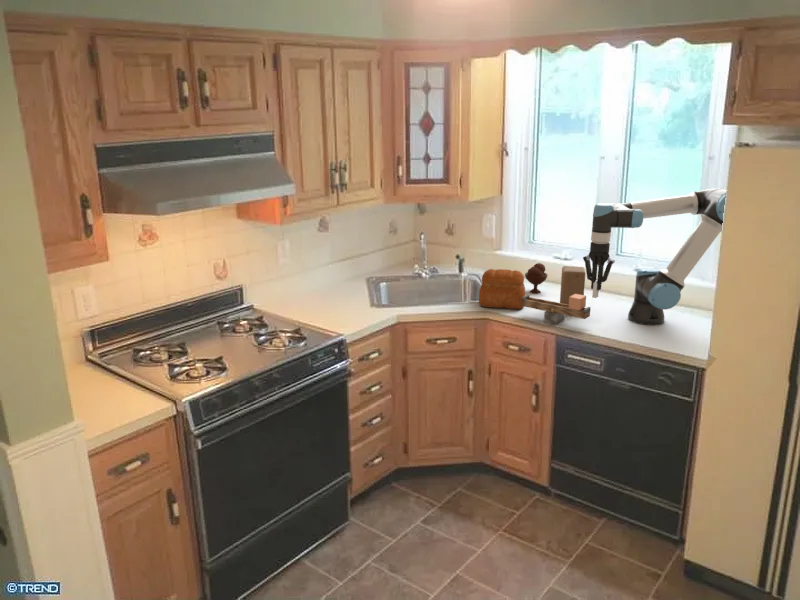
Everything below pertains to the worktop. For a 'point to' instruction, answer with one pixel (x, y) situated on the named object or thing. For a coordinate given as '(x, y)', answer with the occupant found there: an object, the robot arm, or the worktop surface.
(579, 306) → the block
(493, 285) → the bread
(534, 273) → the ice cream bowl
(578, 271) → the wooden block
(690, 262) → the robot arm
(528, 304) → the beam
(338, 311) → the worktop surface
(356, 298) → the worktop surface
